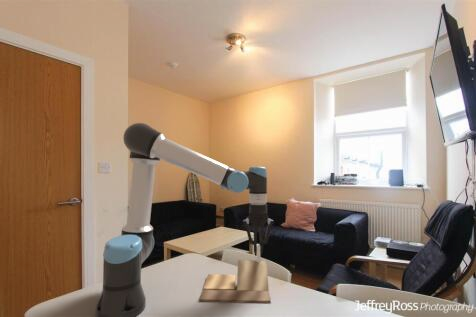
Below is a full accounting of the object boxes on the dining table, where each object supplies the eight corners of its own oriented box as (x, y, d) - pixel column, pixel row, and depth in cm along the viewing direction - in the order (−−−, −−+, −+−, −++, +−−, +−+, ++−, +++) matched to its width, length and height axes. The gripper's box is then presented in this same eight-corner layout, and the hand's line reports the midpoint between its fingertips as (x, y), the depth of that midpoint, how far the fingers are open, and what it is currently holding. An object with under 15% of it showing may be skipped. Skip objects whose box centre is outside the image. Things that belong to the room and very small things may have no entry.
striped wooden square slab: (203, 292, 94) (203, 288, 94) (208, 277, 106) (208, 274, 106) (234, 293, 93) (234, 289, 94) (235, 278, 105) (235, 274, 106)
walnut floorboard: (199, 303, 86) (199, 299, 86) (203, 293, 93) (203, 289, 93) (270, 305, 85) (270, 300, 85) (268, 294, 93) (268, 290, 93)
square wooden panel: (237, 291, 94) (237, 290, 93) (238, 262, 103) (237, 260, 102) (268, 292, 94) (268, 290, 93) (266, 262, 103) (266, 260, 102)
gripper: (242, 204, 99) (242, 264, 98) (274, 204, 98) (275, 264, 97) (242, 202, 106) (242, 257, 105) (272, 202, 106) (273, 257, 105)
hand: (258, 260), depth 101 cm, fingers closed
